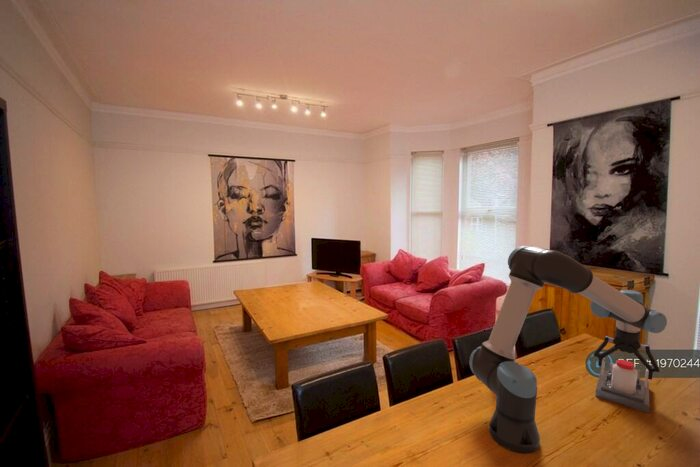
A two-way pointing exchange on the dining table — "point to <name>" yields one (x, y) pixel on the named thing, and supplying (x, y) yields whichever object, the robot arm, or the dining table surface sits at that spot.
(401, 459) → the dining table surface
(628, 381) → the pill bottle
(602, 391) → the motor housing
